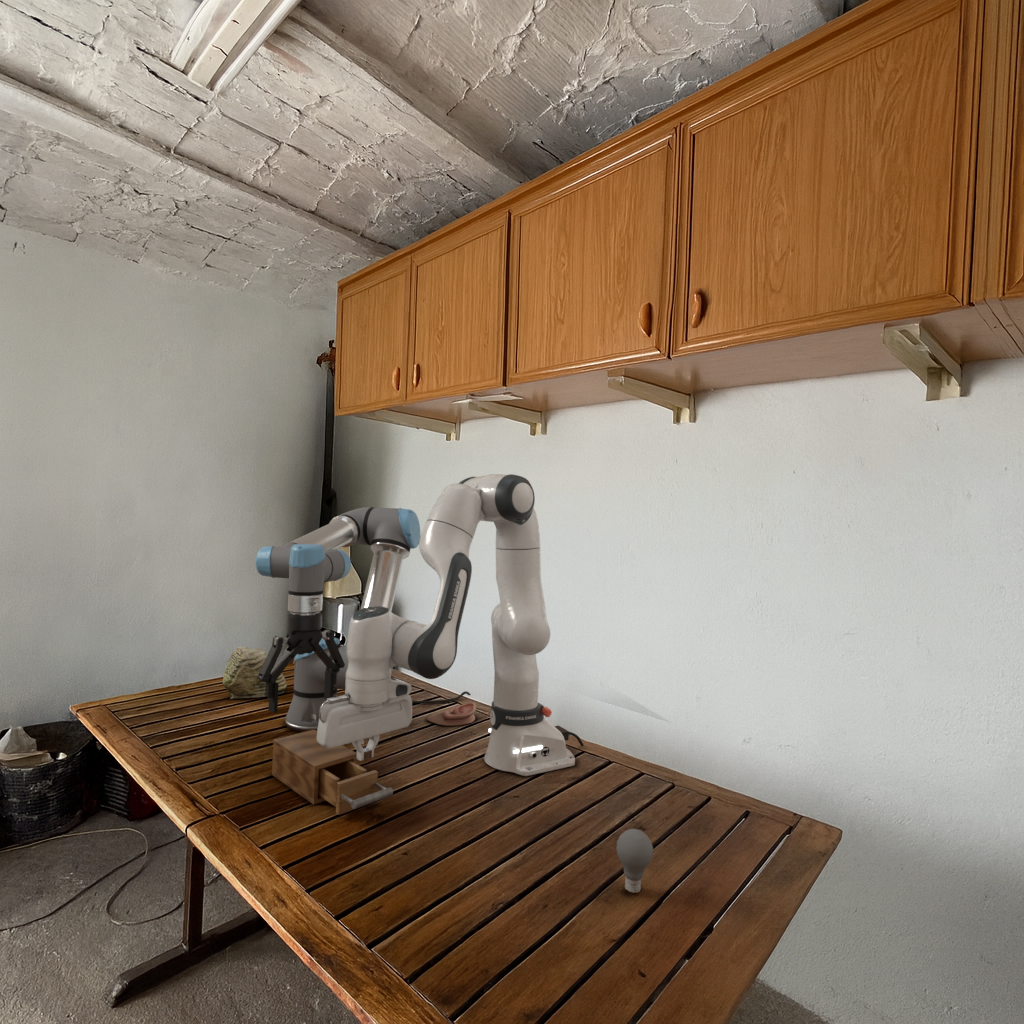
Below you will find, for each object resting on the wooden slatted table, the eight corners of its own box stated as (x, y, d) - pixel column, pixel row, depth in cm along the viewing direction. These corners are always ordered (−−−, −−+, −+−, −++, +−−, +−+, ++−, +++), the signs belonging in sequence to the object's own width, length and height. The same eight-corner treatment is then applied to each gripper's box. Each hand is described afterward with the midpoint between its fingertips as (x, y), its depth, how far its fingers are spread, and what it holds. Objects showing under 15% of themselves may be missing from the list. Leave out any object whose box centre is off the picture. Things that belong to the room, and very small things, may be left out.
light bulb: (610, 879, 108) (613, 822, 108) (644, 879, 109) (647, 822, 109) (619, 902, 102) (622, 840, 102) (655, 901, 103) (658, 840, 103)
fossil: (218, 695, 195) (220, 647, 195) (278, 685, 208) (279, 640, 207) (228, 703, 189) (230, 653, 188) (289, 692, 201) (290, 645, 201)
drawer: (392, 810, 127) (393, 780, 127) (354, 826, 121) (355, 794, 121) (332, 773, 143) (333, 746, 143) (295, 785, 137) (296, 756, 136)
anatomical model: (423, 709, 179) (436, 697, 190) (423, 723, 179) (436, 710, 190) (469, 714, 176) (479, 702, 188) (468, 728, 177) (478, 715, 188)
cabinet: (355, 790, 137) (357, 753, 137) (313, 804, 130) (315, 766, 130) (312, 762, 150) (314, 729, 150) (271, 775, 143) (273, 739, 143)
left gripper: (258, 620, 132) (255, 721, 133) (361, 609, 150) (358, 698, 151) (243, 615, 137) (239, 712, 138) (344, 605, 156) (341, 690, 156)
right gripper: (329, 704, 116) (326, 778, 117) (417, 684, 131) (415, 750, 131) (311, 695, 121) (309, 767, 121) (399, 677, 136) (396, 741, 136)
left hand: (301, 705), depth 144 cm, fingers open, 13 cm apart
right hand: (365, 758), depth 126 cm, fingers closed
